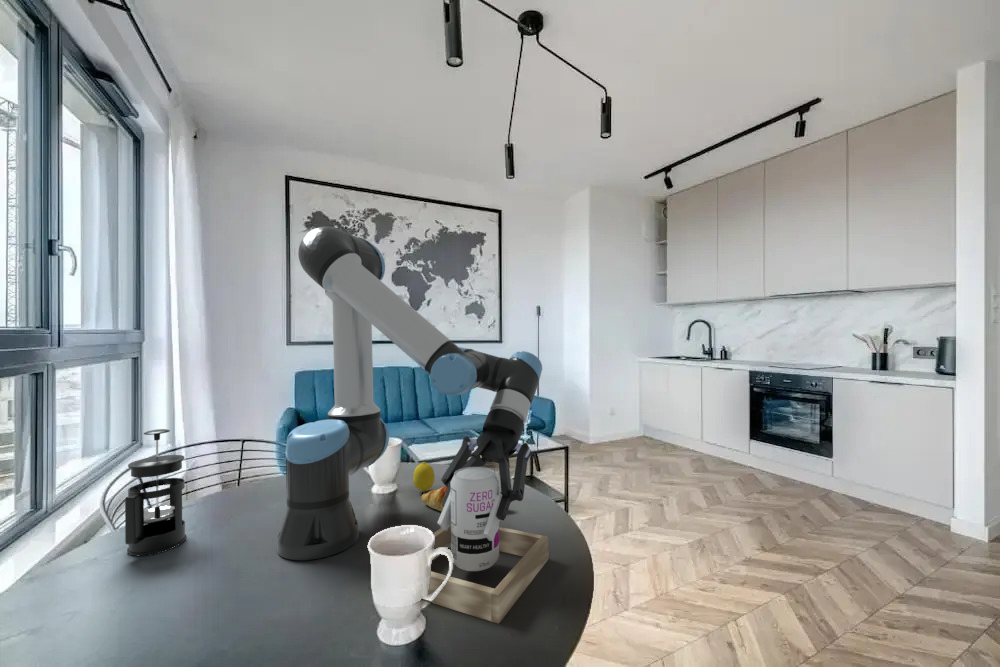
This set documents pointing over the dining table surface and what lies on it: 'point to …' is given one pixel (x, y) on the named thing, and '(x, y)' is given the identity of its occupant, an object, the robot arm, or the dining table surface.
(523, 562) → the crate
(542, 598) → the dining table surface
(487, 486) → the supplement can
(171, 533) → the french press
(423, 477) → the lemon
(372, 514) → the dining table surface
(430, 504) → the croissant
